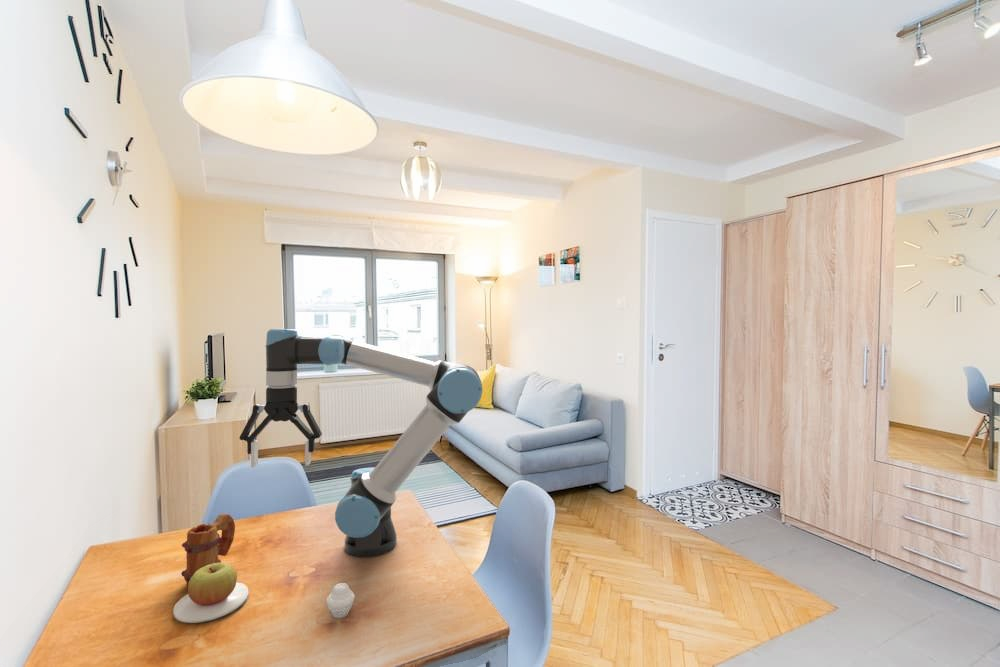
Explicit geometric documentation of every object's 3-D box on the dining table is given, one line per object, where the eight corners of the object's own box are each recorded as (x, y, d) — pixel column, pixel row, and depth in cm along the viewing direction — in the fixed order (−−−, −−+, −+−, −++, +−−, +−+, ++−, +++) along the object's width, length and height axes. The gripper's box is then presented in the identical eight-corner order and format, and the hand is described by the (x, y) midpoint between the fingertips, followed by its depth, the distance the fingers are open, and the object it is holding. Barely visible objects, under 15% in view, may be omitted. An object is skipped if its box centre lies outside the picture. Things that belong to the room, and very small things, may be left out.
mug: (200, 595, 112) (200, 534, 112) (172, 591, 114) (172, 531, 113) (245, 565, 126) (245, 511, 126) (219, 561, 128) (219, 508, 128)
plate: (258, 585, 117) (258, 579, 117) (232, 622, 102) (232, 616, 102) (194, 589, 115) (194, 583, 115) (158, 628, 100) (158, 622, 100)
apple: (183, 616, 102) (183, 580, 102) (192, 592, 111) (192, 560, 111) (233, 606, 106) (233, 571, 106) (238, 584, 115) (239, 552, 115)
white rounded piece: (332, 605, 109) (333, 576, 109) (358, 606, 109) (358, 576, 108) (321, 622, 103) (322, 591, 102) (348, 623, 102) (349, 592, 102)
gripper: (333, 384, 128) (332, 459, 129) (237, 384, 125) (237, 462, 125) (326, 387, 121) (326, 467, 121) (225, 388, 117) (225, 470, 118)
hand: (281, 465), depth 123 cm, fingers open, 13 cm apart
